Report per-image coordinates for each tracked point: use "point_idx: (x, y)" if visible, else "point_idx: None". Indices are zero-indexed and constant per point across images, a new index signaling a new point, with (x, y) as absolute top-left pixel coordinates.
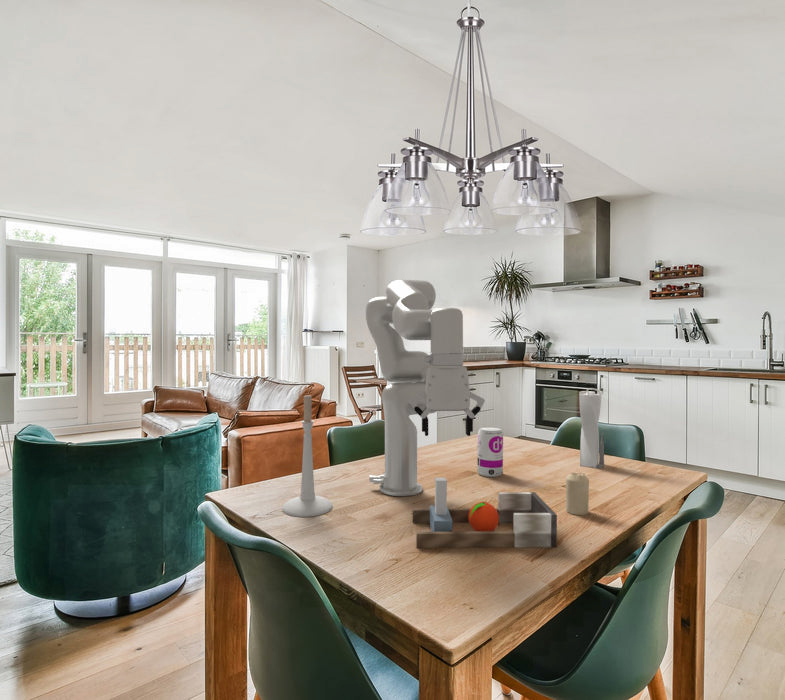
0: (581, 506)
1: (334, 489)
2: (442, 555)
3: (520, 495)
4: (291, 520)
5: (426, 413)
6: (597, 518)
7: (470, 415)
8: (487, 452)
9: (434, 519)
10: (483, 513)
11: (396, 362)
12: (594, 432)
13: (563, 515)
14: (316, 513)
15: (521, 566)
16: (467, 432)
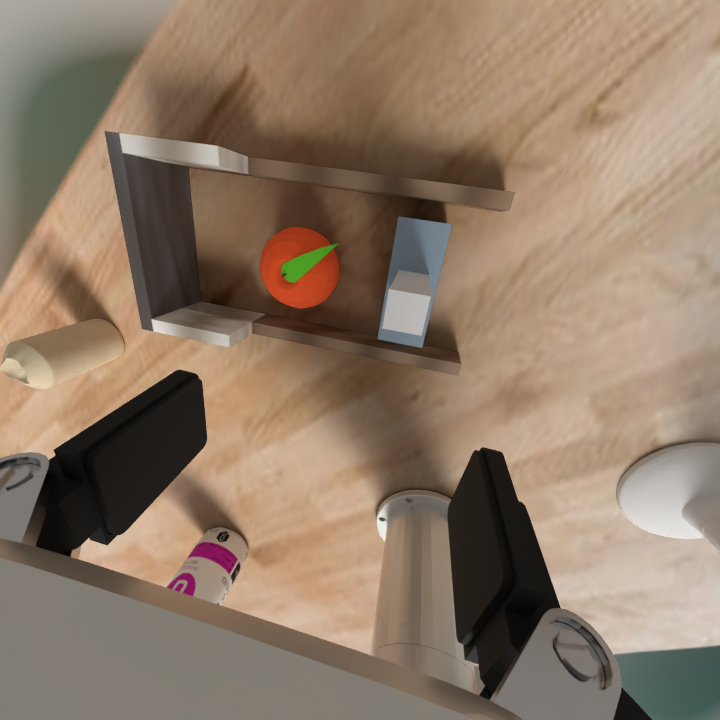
0: (82, 323)
1: (569, 564)
2: (454, 133)
3: (180, 323)
4: None
5: (550, 684)
6: (74, 297)
7: (19, 488)
8: (205, 580)
9: (446, 237)
10: (300, 239)
11: None
12: None
13: (133, 324)
14: (690, 447)
15: (277, 33)
16: (184, 386)
